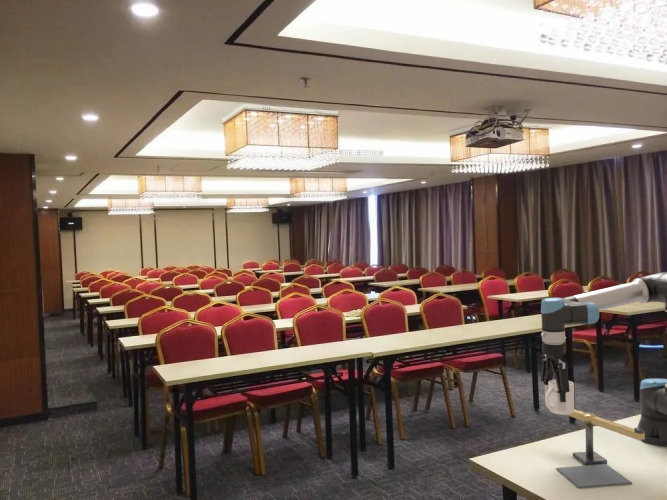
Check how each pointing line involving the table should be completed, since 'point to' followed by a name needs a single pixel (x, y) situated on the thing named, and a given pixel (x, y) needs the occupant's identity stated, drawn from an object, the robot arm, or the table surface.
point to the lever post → (589, 450)
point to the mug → (552, 398)
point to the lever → (609, 425)
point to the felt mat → (593, 476)
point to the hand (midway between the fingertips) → (555, 406)
